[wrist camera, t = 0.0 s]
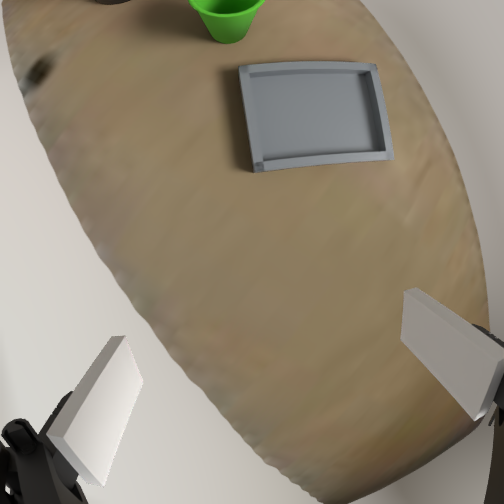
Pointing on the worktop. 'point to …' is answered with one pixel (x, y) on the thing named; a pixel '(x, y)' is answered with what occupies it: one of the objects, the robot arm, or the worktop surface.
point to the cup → (227, 17)
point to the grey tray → (314, 114)
